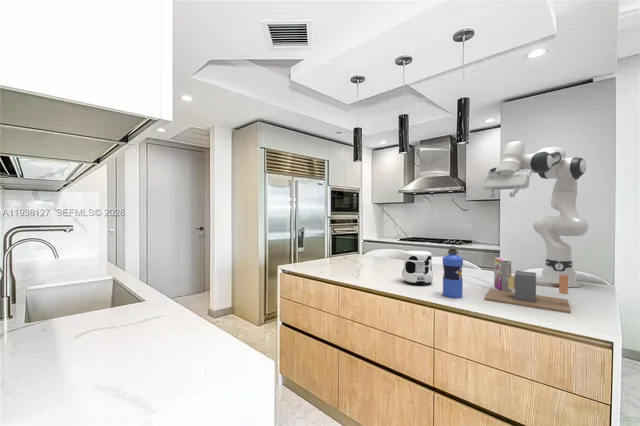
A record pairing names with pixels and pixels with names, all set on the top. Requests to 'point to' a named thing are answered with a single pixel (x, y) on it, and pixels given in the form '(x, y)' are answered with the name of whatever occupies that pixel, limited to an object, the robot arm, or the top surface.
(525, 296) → the bearing stand
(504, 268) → the candy bar box
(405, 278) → the milk container
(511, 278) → the spacer
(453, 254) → the water bottle
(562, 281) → the shaft
